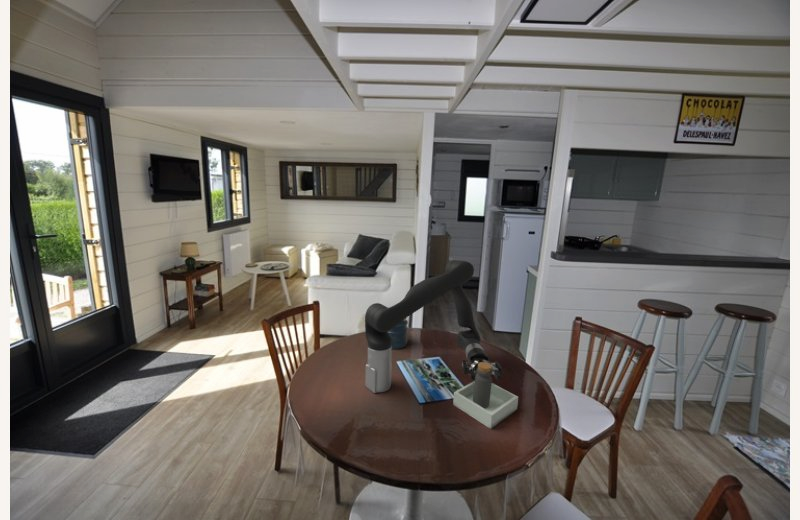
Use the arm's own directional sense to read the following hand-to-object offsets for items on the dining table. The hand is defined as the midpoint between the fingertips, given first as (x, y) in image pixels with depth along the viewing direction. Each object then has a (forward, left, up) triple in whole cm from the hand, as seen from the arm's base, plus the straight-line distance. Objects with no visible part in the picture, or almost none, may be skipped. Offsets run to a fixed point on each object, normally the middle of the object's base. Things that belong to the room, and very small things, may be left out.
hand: (486, 378), depth 117 cm
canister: (+6, +58, -11) cm, 60 cm away
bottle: (-1, +1, -10) cm, 10 cm away
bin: (0, -1, -11) cm, 11 cm away
